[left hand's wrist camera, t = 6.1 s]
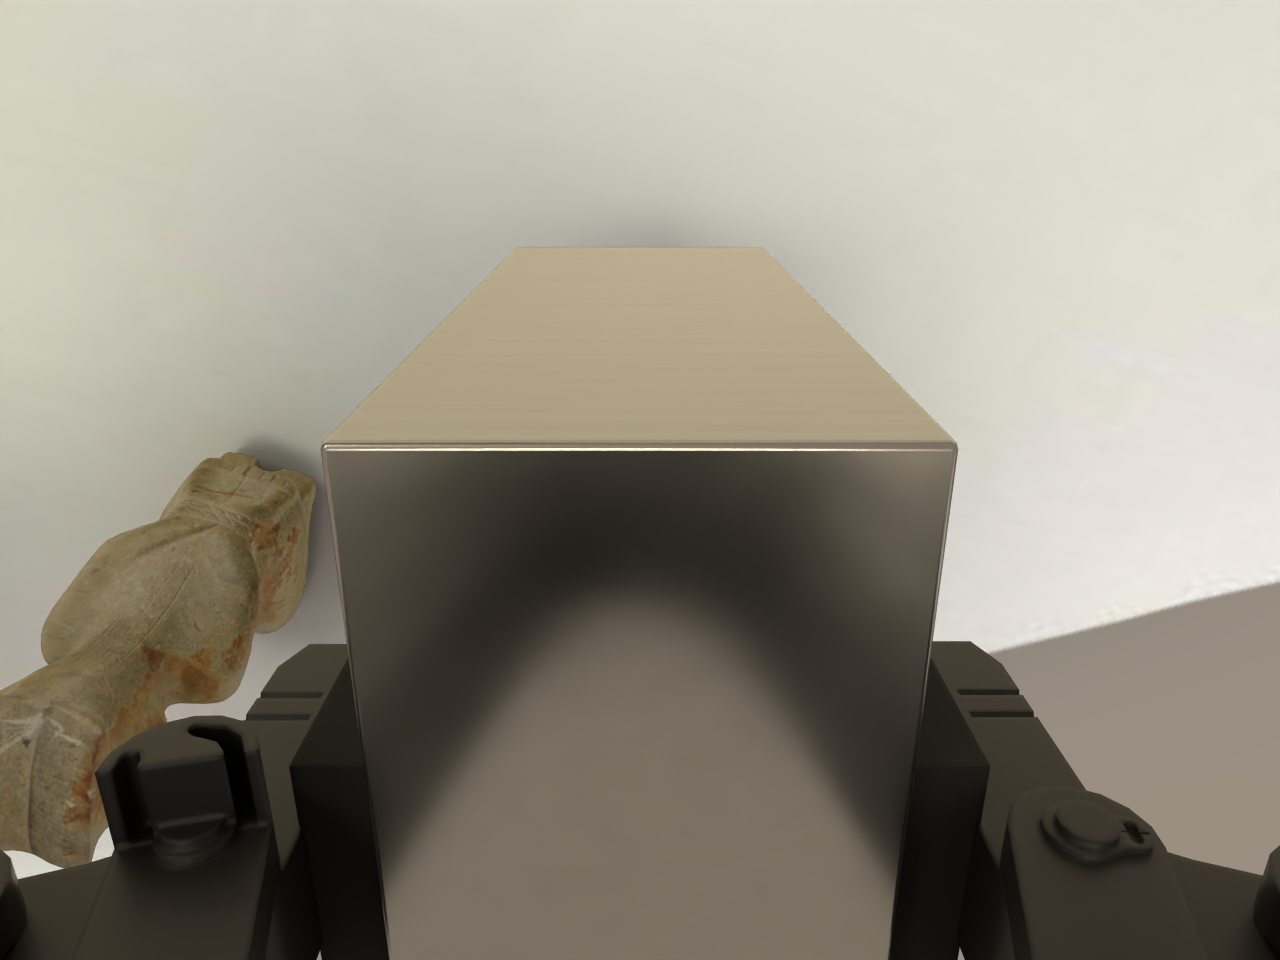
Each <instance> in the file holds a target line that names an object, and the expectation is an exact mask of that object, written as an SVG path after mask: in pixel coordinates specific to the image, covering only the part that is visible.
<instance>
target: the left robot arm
mask: <svg viewBox="0 0 1280 960" xmlns="http://www.w3.org/2000/svg"><path fill="white" fill-rule="evenodd" d="M95 777H96V780H97V784H98V788H99V792H100V795H101V799H102V803H103V807H104V811H105V814H106V818H107V822H108V826H109V829H110V833H111V837H112V841H113V844H114V848H115V849H114V852H113V854H112V856H111V857H107V858H104V859H101V860H97V861H94V862H90V863H87V864H83V865H79V866H74V867H70V868H65V869H61V870H57V871H52V872H48V873H44V874H39V875H35V876H30V877H26V878H22V879H17V877H16V874H15V871H14V867H13V864H12V861H11V858H10V857H9V856H8V855H6V854H5V853H4V852H3V851H2V850H1V849H0V960H316V959H317V957H318V954H319V952H321V957H322V960H389V953H388V946H387V938H386V931H385V923H384V916H383V908H382V901H381V894H380V886H379V879H378V871H377V864H376V856H375V849H374V842H373V834H372V827H371V819H370V812H369V804H368V797H367V789H366V782H365V775H364V767H363V760H362V752H361V745H360V737H359V730H358V723H357V715H356V708H355V700H354V693H353V685H352V678H351V671H350V663H349V656H348V648H347V644H309V645H308V646H306V647H305V648H304V649H302V650H301V651H299V652H298V653H297V654H295V655H294V656H293V657H291V658H290V659H288V660H287V661H286V662H284V663H283V664H281V665H280V666H279V667H278V668H277V669H276V671H275V672H274V674H273V675H272V677H271V678H270V680H269V681H268V683H267V684H266V686H265V687H264V689H263V690H262V692H261V698H257V700H256V701H255V703H254V704H253V706H252V707H251V709H250V710H249V712H248V713H247V715H246V721H241V720H237V719H233V718H229V717H225V716H193V717H188V718H184V719H180V720H176V721H171V722H167V723H163V724H161V725H158V726H156V727H154V728H151V729H149V730H147V731H145V732H142V733H140V734H138V735H135V736H133V737H132V738H130V739H129V740H128V741H126V742H125V743H123V744H122V745H121V746H119V747H118V748H116V749H115V750H114V751H112V752H111V753H109V755H108V756H107V757H106V759H105V760H104V761H103V762H102V764H101V765H100V766H99V768H98V769H97V770H96V771H95ZM959 948H961V951H962V954H963V956H964V959H965V960H1280V846H1279V847H1277V848H1276V849H1275V850H1274V851H1273V852H1272V853H1271V854H1270V856H1269V859H1268V862H1267V865H1266V868H1265V871H1264V874H1263V876H1262V875H1258V874H1253V873H1249V872H1245V871H1240V870H1235V869H1231V868H1227V867H1222V866H1218V865H1214V864H1209V863H1205V862H1200V861H1196V860H1192V859H1188V858H1185V857H1182V856H1179V855H1175V854H1172V853H1169V852H1167V850H1166V848H1165V846H1164V844H1163V843H1162V842H1161V840H1160V838H1159V837H1158V835H1157V834H1156V832H1155V831H1154V829H1153V828H1152V827H1151V826H1150V825H1149V824H1148V823H1146V822H1145V821H1144V820H1143V819H1141V818H1140V817H1139V816H1138V815H1136V814H1135V813H1134V812H1133V811H1132V810H1130V809H1129V808H1127V807H1125V806H1123V805H1121V804H1119V803H1117V802H1115V801H1113V800H1111V799H1109V798H1107V797H1105V796H1103V795H1101V794H1097V793H1093V792H1090V791H1086V789H1085V788H1084V786H1083V785H1082V783H1081V782H1080V780H1079V779H1078V777H1077V776H1076V774H1075V773H1074V771H1073V770H1072V768H1071V767H1070V765H1069V764H1068V762H1067V761H1066V759H1065V758H1064V756H1063V755H1062V753H1061V752H1060V750H1059V749H1058V747H1057V746H1056V744H1055V743H1054V741H1053V740H1052V738H1051V737H1050V735H1049V734H1048V733H1047V731H1046V729H1045V728H1044V726H1043V725H1042V723H1041V722H1040V721H1039V719H1038V718H1037V717H1034V712H1033V710H1032V709H1031V707H1030V706H1029V704H1028V703H1027V701H1026V700H1025V698H1024V697H1023V695H1019V689H1018V688H1017V686H1016V685H1015V683H1014V682H1013V680H1012V679H1011V677H1010V676H1009V674H1008V673H1007V671H1006V670H1005V668H1004V667H1003V665H1002V664H1001V663H1000V662H998V661H997V660H996V659H994V658H993V657H991V656H990V655H989V654H987V653H986V652H984V651H983V650H982V649H980V648H979V647H977V646H976V645H975V644H973V643H972V642H970V641H932V648H931V656H930V663H929V671H928V678H927V686H926V693H925V701H924V708H923V716H922V723H921V730H920V738H919V745H918V753H917V760H916V768H915V775H914V783H913V790H912V798H911V805H910V812H909V820H908V827H907V835H906V842H905V850H904V857H903V865H902V872H901V880H900V887H899V894H898V902H897V909H896V917H895V924H894V932H893V939H892V947H891V954H890V960H958V954H959Z"/></svg>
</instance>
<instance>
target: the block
mask: <svg viewBox="0 0 1280 960" xmlns="http://www.w3.org/2000/svg"><path fill="white" fill-rule="evenodd" d="M321 455H322V463H323V470H324V477H325V485H326V492H327V500H328V507H329V515H330V522H331V529H332V537H333V544H334V552H335V559H336V567H337V574H338V581H339V589H340V596H341V604H342V611H343V619H344V626H345V633H346V641H347V648H348V656H349V663H350V671H351V678H352V685H353V693H354V700H355V708H356V715H357V723H358V730H359V737H360V745H361V752H362V760H363V767H364V775H365V782H366V789H367V797H368V804H369V812H370V819H371V827H372V834H373V842H374V849H375V856H376V864H377V871H378V879H379V886H380V894H381V901H382V908H383V916H384V923H385V931H386V938H387V946H388V953H389V960H890V954H891V947H892V939H893V932H894V924H895V917H896V909H897V902H898V894H899V887H900V880H901V872H902V865H903V857H904V850H905V842H906V835H907V827H908V820H909V812H910V805H911V798H912V790H913V783H914V775H915V768H916V760H917V753H918V745H919V738H920V730H921V723H922V716H923V708H924V701H925V693H926V686H927V678H928V671H929V663H930V656H931V648H932V641H933V633H934V626H935V619H936V611H937V604H938V596H939V589H940V581H941V574H942V566H943V559H944V551H945V544H946V537H947V529H948V522H949V514H950V507H951V499H952V492H953V484H954V477H955V469H956V462H957V455H958V446H957V443H956V442H955V441H954V440H953V439H952V438H951V437H950V436H949V435H948V433H947V432H946V431H945V430H944V429H943V428H942V427H941V426H940V425H939V424H938V423H937V422H936V421H935V420H934V419H933V418H932V417H931V416H930V415H929V414H928V413H927V412H926V411H925V410H924V409H923V408H922V407H921V406H920V405H919V404H918V403H917V402H916V401H915V400H914V399H913V398H912V397H911V396H910V395H909V394H908V393H907V392H906V391H905V390H904V389H903V388H902V387H901V386H900V385H899V384H898V383H897V382H896V381H895V380H894V379H893V378H892V377H891V376H890V375H889V374H888V373H887V372H886V371H885V370H884V369H883V368H882V367H881V366H880V365H879V364H878V363H877V362H876V361H875V360H874V359H873V358H872V357H871V356H870V355H869V354H868V353H867V352H866V351H865V350H864V349H863V348H862V347H861V346H860V345H859V344H858V343H857V342H856V341H855V340H854V339H853V338H852V337H851V336H850V335H849V334H848V333H847V332H846V331H845V330H844V329H843V328H842V327H841V326H840V325H839V324H838V323H837V322H836V321H835V320H834V319H833V318H832V317H831V316H830V315H829V314H828V313H827V312H826V311H825V310H824V309H823V308H822V307H821V306H820V304H819V303H818V302H817V301H816V300H815V299H814V298H813V297H812V296H811V295H810V294H809V293H808V292H807V291H806V290H805V289H804V288H803V287H802V286H801V285H800V284H799V283H798V282H797V281H796V280H795V279H794V278H793V277H792V276H791V275H790V274H789V273H788V272H787V271H786V270H785V269H784V268H783V267H782V266H781V265H780V264H779V263H778V262H777V261H776V260H775V259H774V258H773V257H772V256H771V255H770V254H769V253H768V252H767V251H766V250H765V249H764V248H762V247H518V248H516V249H515V250H514V251H513V252H512V253H511V254H510V255H509V256H508V257H507V258H506V259H505V260H504V261H503V262H502V263H501V264H500V265H499V266H498V267H497V268H496V269H495V270H494V271H493V272H492V273H491V274H490V275H489V276H488V277H487V278H486V279H485V280H484V281H483V282H482V283H481V284H480V285H479V286H478V287H477V288H476V289H475V290H474V291H473V292H472V293H471V294H470V295H469V296H468V297H467V298H466V299H465V300H464V301H463V302H462V303H461V304H460V305H459V306H458V307H457V308H456V309H455V310H454V311H453V312H452V313H451V314H450V315H449V316H448V317H447V318H446V319H445V320H444V321H443V322H442V323H441V324H440V325H439V326H438V327H437V328H436V329H435V330H434V331H433V332H432V333H431V334H430V335H429V336H428V337H427V338H426V339H425V340H424V341H423V342H422V343H421V344H420V345H419V346H418V347H417V348H416V349H415V350H414V351H413V352H412V353H411V354H410V355H409V356H408V357H407V358H406V359H405V360H404V361H403V362H402V363H401V364H400V365H399V366H398V367H397V368H396V369H395V370H394V371H393V372H392V373H391V374H390V375H389V376H388V377H387V378H386V379H385V380H384V381H383V382H382V383H381V384H380V385H379V386H378V387H377V388H376V389H375V390H374V391H373V392H372V393H371V394H370V395H369V396H368V397H367V398H366V399H365V400H364V401H363V402H362V403H361V404H360V405H359V406H358V407H357V408H356V409H355V410H354V411H353V412H352V413H351V414H350V415H349V416H348V417H347V418H346V419H345V420H344V421H343V422H342V423H341V424H340V425H339V426H338V427H337V428H336V429H335V430H334V431H333V432H332V433H331V434H330V435H329V436H328V437H327V438H326V439H325V440H324V441H323V443H322V446H321Z"/></svg>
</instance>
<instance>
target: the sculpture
mask: <svg viewBox="0 0 1280 960" xmlns="http://www.w3.org/2000/svg"><path fill="white" fill-rule="evenodd" d="M315 497H316V484H315V481H314V480H313V479H312V478H310V477H309V476H306V475H304V474H301V473H299V472H296V471H294V470H291V469H286V468H285V469H281V470H278V471H265V470H262V469H261V466H260V463H259V461H258V460H257V459H255V458H253V457H250V456H246V455H241V454H236V453H231V452H229V453H226V454H224V455H223V456H222V457H221V458H220V459H219V458H208V459H206V460H204V461H203V462H201V463H200V464H199V465H198V466H197V467H196V469H195V470H194V471H193V472H192V473H191V474H190V476H189V477H188V478H187V479H186V480H185V481H184V483H183V484H182V485H181V487H180V488H179V489H178V491H177V492H176V494H175V495H174V497H173V498H172V499H171V501H170V502H169V504H168V505H167V507H166V508H165V509H164V511H163V513H162V515H161V517H160V520H159V521H157V522H155V523H152V524H149V525H145V526H142V527H139V528H136V529H133V530H130V531H127V532H125V533H122V534H119V535H117V536H115V537H113V538H111V539H109V540H107V541H106V542H105V543H104V544H103V545H102V546H101V547H100V548H99V549H98V550H97V551H96V552H95V554H94V555H93V556H92V557H91V558H90V560H89V561H88V562H87V564H86V565H85V566H84V568H83V569H82V570H81V571H80V573H79V574H78V575H77V577H76V578H75V579H74V581H73V582H72V583H71V585H70V586H69V587H68V589H67V590H66V591H65V593H64V594H63V595H62V597H61V598H60V599H59V601H58V602H57V603H56V605H55V606H54V608H53V609H52V611H51V612H50V614H49V616H48V618H47V619H46V621H45V624H44V626H43V630H42V635H41V649H42V653H43V656H44V659H45V661H46V662H47V663H48V664H49V665H47V666H45V667H43V668H41V669H39V670H37V671H35V672H34V673H32V674H30V675H29V676H27V677H25V678H24V679H22V680H20V681H18V682H16V683H14V684H12V685H10V686H9V687H7V688H5V689H3V690H1V691H0V849H1V850H2V851H11V850H15V851H24V852H27V853H31V854H34V855H36V856H38V857H40V858H41V859H43V860H45V861H47V862H49V863H50V864H53V865H56V866H59V867H61V868H70V867H74V866H79V865H83V864H87V863H90V862H91V861H92V858H93V854H94V850H95V846H96V844H97V842H98V839H99V837H100V836H101V835H102V833H103V832H104V831H105V830H106V829H107V828H108V827H109V826H108V822H107V818H106V814H105V811H104V807H103V803H102V799H101V795H100V792H99V788H98V784H97V780H96V777H95V771H96V770H97V769H98V768H99V766H100V765H101V764H102V762H103V761H104V760H105V759H106V757H107V756H108V755H109V753H111V752H112V751H114V750H115V749H116V748H118V747H119V746H121V745H122V744H123V743H125V742H126V741H128V740H129V739H130V738H132V737H133V736H135V735H138V734H140V733H142V732H145V731H147V730H149V729H151V728H154V727H156V726H158V725H161V724H163V723H167V720H166V717H165V714H164V711H165V710H166V708H167V707H168V706H170V705H172V704H177V703H196V704H208V703H217V702H221V701H224V700H226V699H227V698H229V697H230V696H231V695H232V694H234V693H235V691H236V690H237V688H238V687H239V685H240V683H241V680H242V678H243V675H244V672H245V669H246V666H247V662H248V659H249V656H250V651H251V646H252V640H253V635H254V633H259V634H265V633H270V632H273V631H276V630H278V629H279V628H281V627H282V626H284V625H285V624H286V623H287V622H288V621H289V620H290V619H291V618H292V616H293V614H294V613H295V611H296V609H297V608H298V605H299V603H300V600H301V598H302V595H303V591H304V587H305V582H306V574H307V565H308V551H309V543H308V541H309V524H310V518H311V512H312V505H313V502H314V500H315Z"/></svg>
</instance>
